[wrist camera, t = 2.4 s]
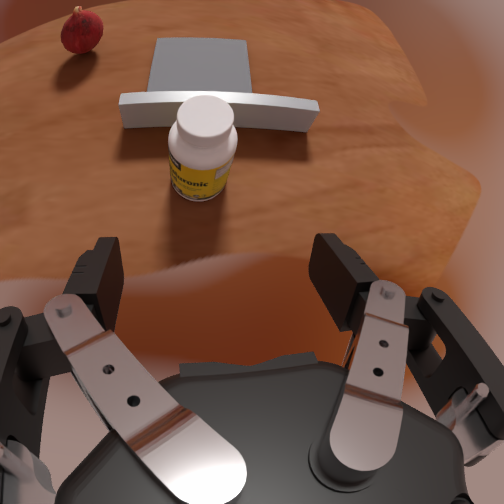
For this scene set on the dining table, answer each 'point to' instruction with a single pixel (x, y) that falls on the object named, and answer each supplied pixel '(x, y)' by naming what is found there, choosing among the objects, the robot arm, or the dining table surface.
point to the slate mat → (200, 65)
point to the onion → (82, 31)
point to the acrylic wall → (243, 104)
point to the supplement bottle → (202, 147)
